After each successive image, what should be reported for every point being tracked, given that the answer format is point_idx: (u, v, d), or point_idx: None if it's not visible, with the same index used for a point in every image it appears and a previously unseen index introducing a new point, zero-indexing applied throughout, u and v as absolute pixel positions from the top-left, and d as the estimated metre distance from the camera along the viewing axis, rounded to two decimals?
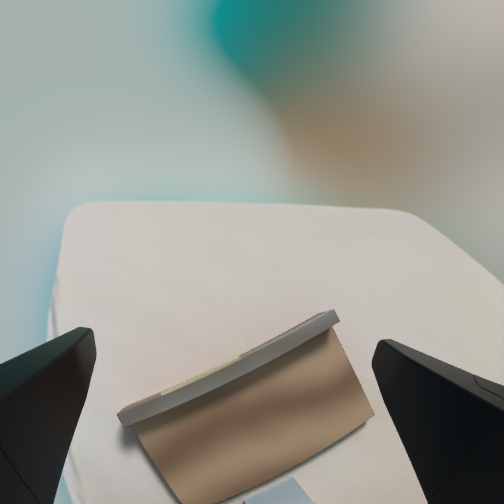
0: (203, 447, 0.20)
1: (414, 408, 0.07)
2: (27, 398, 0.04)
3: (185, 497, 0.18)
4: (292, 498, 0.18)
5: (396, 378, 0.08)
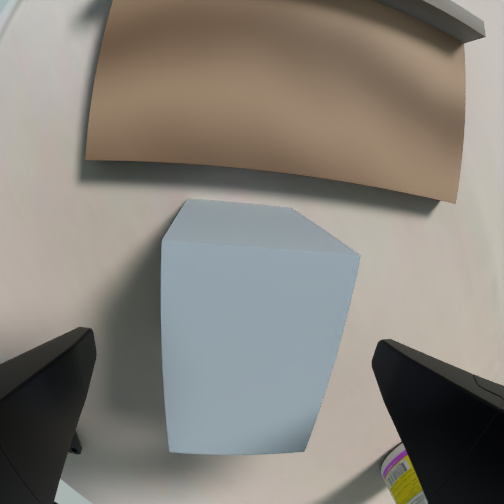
0: (197, 42, 0.10)
1: (414, 408, 0.07)
2: (27, 398, 0.04)
3: (101, 122, 0.11)
4: (284, 219, 0.11)
5: (396, 378, 0.08)
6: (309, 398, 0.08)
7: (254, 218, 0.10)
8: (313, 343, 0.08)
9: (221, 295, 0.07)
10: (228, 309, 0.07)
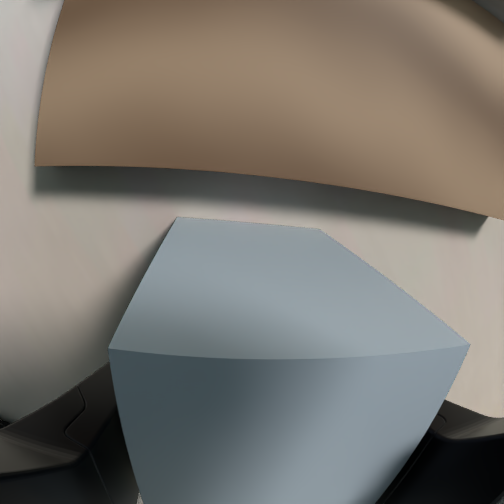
0: (188, 0, 0.06)
1: None
2: None
3: (55, 112, 0.07)
4: (322, 257, 0.07)
5: None
6: None
7: (278, 258, 0.06)
8: (374, 466, 0.04)
9: (235, 434, 0.03)
10: (246, 450, 0.03)
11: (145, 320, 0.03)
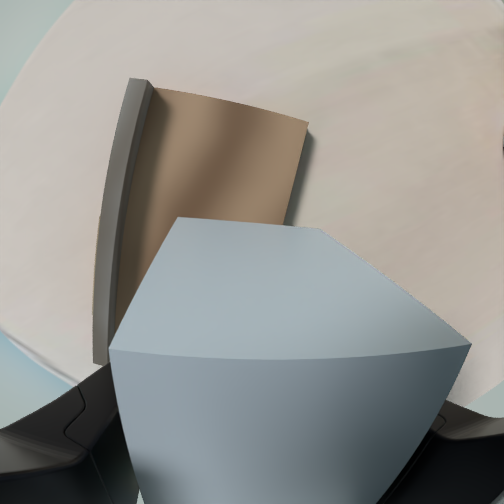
0: None
1: None
2: None
3: None
4: (323, 257, 0.07)
5: None
6: None
7: (279, 258, 0.06)
8: (376, 465, 0.04)
9: (235, 434, 0.03)
10: (248, 450, 0.03)
11: (146, 320, 0.03)
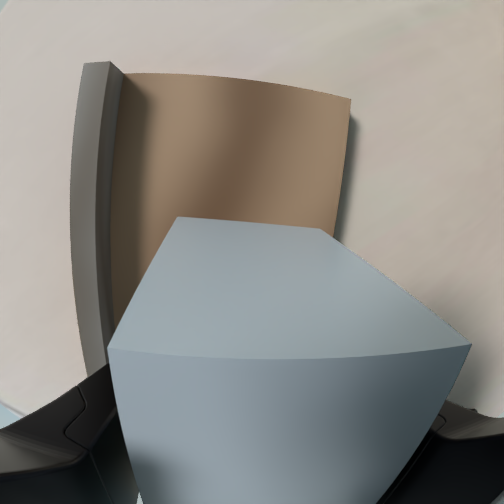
0: None
1: None
2: None
3: None
4: (323, 258, 0.07)
5: None
6: None
7: (279, 257, 0.06)
8: (375, 466, 0.04)
9: (235, 434, 0.03)
10: (247, 450, 0.03)
11: (145, 320, 0.03)
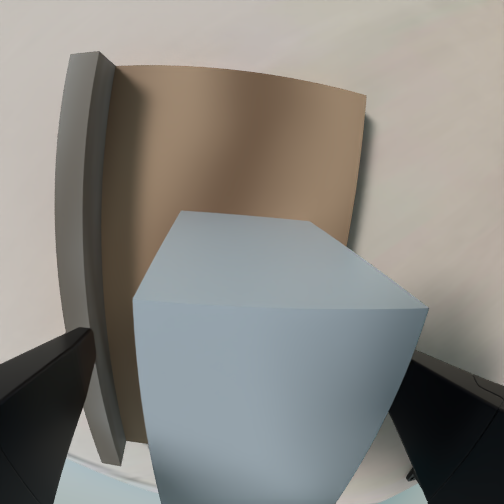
0: None
1: (414, 408, 0.07)
2: (27, 398, 0.04)
3: None
4: (307, 243, 0.08)
5: None
6: (340, 473, 0.06)
7: (269, 242, 0.08)
8: (353, 421, 0.05)
9: (229, 376, 0.04)
10: (239, 393, 0.05)
11: (160, 282, 0.05)
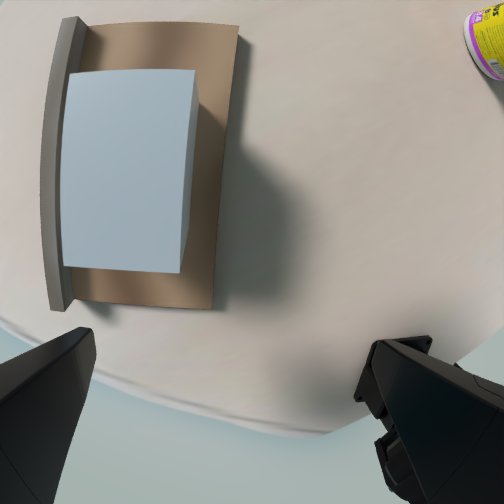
0: None
1: (414, 408, 0.07)
2: (27, 398, 0.04)
3: (187, 299, 0.19)
4: None
5: (396, 378, 0.08)
6: (169, 197, 0.10)
7: None
8: (164, 138, 0.10)
9: (99, 102, 0.09)
10: (103, 112, 0.09)
11: None
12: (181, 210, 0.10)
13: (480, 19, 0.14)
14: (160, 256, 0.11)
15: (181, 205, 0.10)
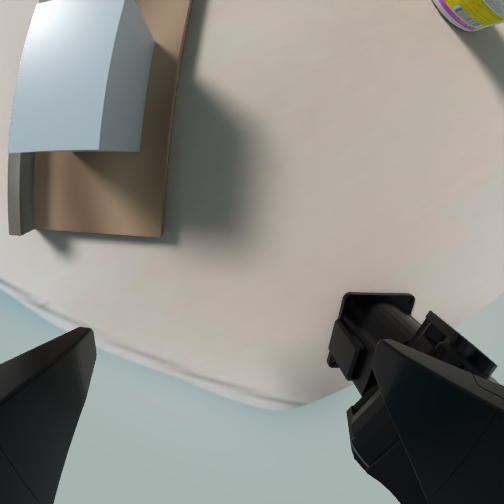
0: (87, 167, 0.17)
1: (414, 408, 0.07)
2: (27, 398, 0.04)
3: (136, 226, 0.18)
4: None
5: (396, 378, 0.08)
6: (96, 81, 0.10)
7: None
8: (98, 37, 0.09)
9: (54, 19, 0.08)
10: (56, 25, 0.08)
11: None
12: (105, 92, 0.10)
13: None
14: (83, 134, 0.10)
15: (105, 87, 0.10)
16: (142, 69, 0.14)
